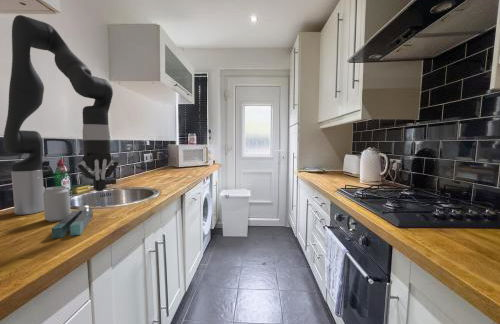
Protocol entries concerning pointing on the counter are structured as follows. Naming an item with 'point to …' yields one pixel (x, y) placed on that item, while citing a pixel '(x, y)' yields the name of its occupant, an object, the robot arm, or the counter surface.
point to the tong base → (66, 223)
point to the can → (56, 203)
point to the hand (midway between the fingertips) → (99, 190)
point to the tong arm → (81, 222)
